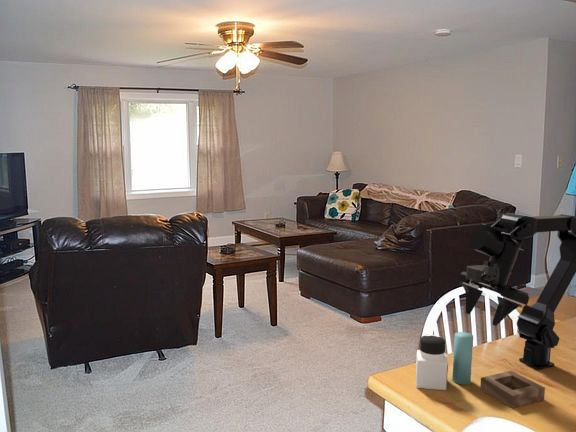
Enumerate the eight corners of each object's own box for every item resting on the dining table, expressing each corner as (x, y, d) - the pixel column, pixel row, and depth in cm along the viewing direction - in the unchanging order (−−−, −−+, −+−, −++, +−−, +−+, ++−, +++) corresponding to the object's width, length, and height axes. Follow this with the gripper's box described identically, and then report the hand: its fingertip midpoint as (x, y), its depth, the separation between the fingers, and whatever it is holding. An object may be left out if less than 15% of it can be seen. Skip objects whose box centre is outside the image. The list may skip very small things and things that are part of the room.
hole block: (510, 381, 135) (511, 370, 135) (544, 399, 126) (545, 387, 126) (480, 389, 131) (480, 377, 131) (512, 408, 122) (513, 395, 122)
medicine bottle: (446, 391, 130) (449, 343, 129) (416, 388, 132) (418, 341, 130) (444, 378, 137) (446, 333, 135) (415, 375, 139) (417, 331, 137)
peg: (462, 375, 139) (464, 331, 137) (474, 382, 135) (477, 337, 133) (448, 378, 137) (450, 333, 135) (460, 385, 133) (463, 339, 131)
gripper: (453, 244, 141) (433, 300, 141) (509, 260, 124) (485, 323, 124) (483, 257, 146) (463, 311, 145) (540, 273, 129) (517, 334, 128)
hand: (480, 319), depth 136 cm, fingers open, 9 cm apart
